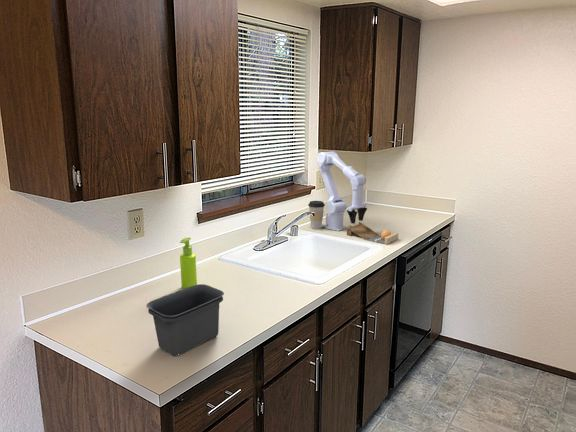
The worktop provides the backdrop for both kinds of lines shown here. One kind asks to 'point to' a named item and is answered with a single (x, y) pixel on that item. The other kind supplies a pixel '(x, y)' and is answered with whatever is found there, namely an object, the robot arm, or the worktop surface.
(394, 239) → the mat
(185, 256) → the soap dispenser
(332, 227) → the robot arm
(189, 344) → the storage bin
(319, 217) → the coffee cup
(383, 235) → the ball
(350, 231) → the ramp
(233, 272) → the worktop surface
